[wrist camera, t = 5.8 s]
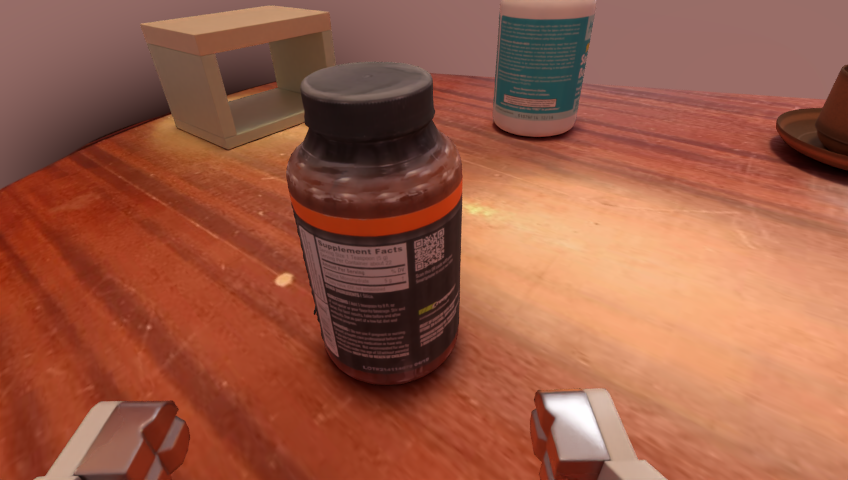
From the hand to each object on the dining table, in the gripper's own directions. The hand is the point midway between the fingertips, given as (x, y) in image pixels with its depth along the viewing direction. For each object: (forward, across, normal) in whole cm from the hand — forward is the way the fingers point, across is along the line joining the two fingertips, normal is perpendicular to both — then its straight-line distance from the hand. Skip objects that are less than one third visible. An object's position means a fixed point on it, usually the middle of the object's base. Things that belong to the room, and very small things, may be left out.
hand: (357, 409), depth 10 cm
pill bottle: (+33, -12, +6) cm, 36 cm away
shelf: (+37, +14, +6) cm, 40 cm away
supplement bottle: (+8, 0, +6) cm, 10 cm away
